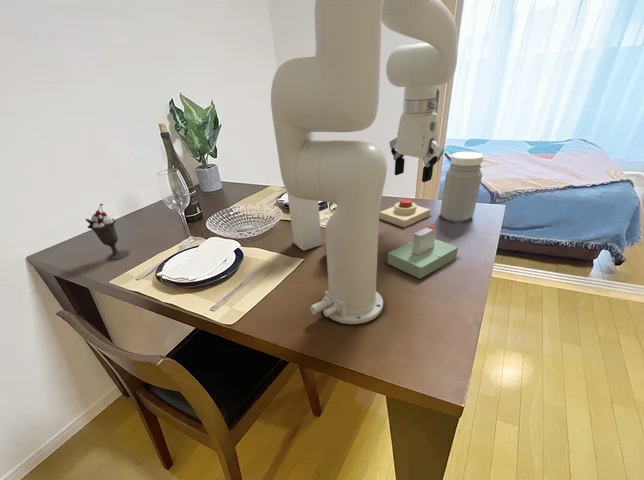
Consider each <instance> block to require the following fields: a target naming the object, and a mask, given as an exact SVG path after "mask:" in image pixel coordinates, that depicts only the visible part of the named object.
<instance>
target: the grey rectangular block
mask: <svg viewBox="0 0 644 480" xmlns="http://www.w3.org/2000/svg"><path fill="white" fill-rule="evenodd" d="M437 231H438V228H437V226H433V225H431V224H430V225H428V226H427V227H424V228H423V229H420V230H418V231H416V232H414V233H413V237H412V238H413V239H412V241H413V247H412V253H414V254H417V255H420V254H422V253H424V252H426V251H427V250H429V249H431V248H433V247H434V245H435V239H437Z"/></svg>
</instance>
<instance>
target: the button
mask: <svg viewBox="0 0 644 480" xmlns="http://www.w3.org/2000/svg"><path fill="white" fill-rule="evenodd" d="M399 202H400V207H403V208H408V207H411V206H412V202H413V200H412V199H410V198H403V199H400V200H399Z"/></svg>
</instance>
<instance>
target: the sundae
mask: <svg viewBox="0 0 644 480" xmlns="http://www.w3.org/2000/svg"><path fill="white" fill-rule="evenodd" d="M103 206H104V204H103V203H100V204H99V207H98V210H96V211H95V213H94V214H92V216H91V218H90V219H89V218H85V221H86V223H88V224H89V225H88V226H87V229H90V230H92V231H93V232H94V233H95V235H96V237H97V238H98V240H99V241H100V242H101V243H102V244H103V245H105V246H108V247H110V249H111V251H112V254H110V255H109V256H108V257H107V259H108V260H109V261H117V260H120V259H123V258H124V257H126V256H127V255H128V254H127V252H126V251H119V250H118V248H117V246H116V244H117V243H118V241H119V239H118V233H117V231H116V228H115V223H116V222H117V221H116V220H115V219H114V218H112V217H110V216H109V215H107V212H106V211H103V208H102V207H103Z"/></svg>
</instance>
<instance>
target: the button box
mask: <svg viewBox="0 0 644 480" xmlns="http://www.w3.org/2000/svg"><path fill="white" fill-rule="evenodd" d="M430 214H431V209H430V208H427V207H424V206H420V205H418V204H417V203H415V202H414V201H412V206H411V207H408V208H403V207H400V201H398V202H395V204H394V206H391V207H389V208H387V209H384V210H382V211H381V210H380V214H379V220H383V221H385V222H388V223H390V224H393V225H396V226H398V227H401V228H407V227H408V226H411V225H413V224H416V223H417V222H420V221H423V220H424V219H426V218H429V217H430V216H431V215H430Z"/></svg>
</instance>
